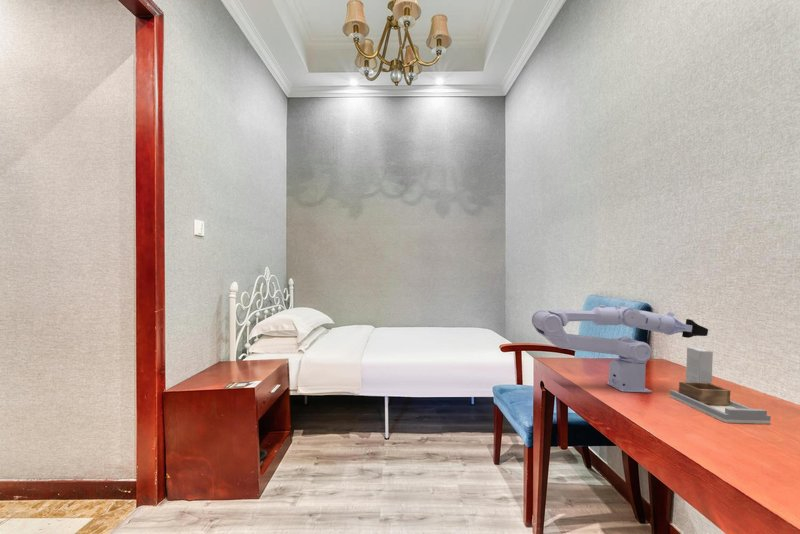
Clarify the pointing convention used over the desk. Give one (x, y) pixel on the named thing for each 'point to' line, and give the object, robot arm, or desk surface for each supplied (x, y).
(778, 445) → the desk surface
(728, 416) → the bay
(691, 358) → the skincare box
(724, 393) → the crate
